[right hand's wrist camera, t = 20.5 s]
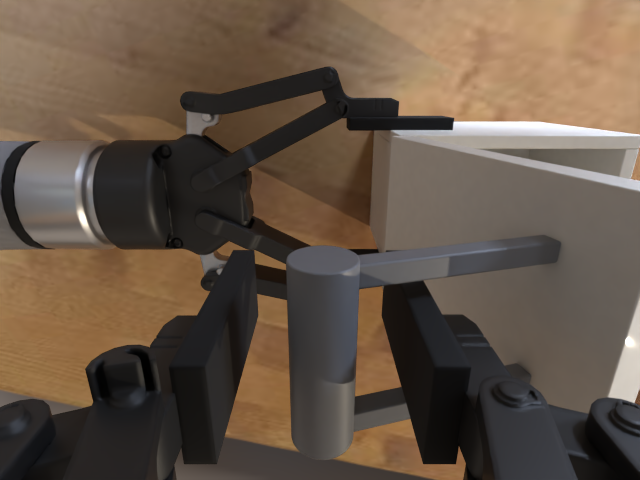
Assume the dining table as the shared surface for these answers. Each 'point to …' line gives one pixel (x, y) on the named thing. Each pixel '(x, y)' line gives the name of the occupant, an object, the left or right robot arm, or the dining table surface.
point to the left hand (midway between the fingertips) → (438, 195)
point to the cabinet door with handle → (477, 283)
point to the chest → (510, 153)
